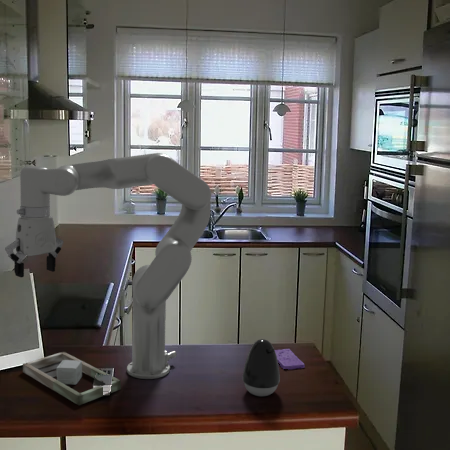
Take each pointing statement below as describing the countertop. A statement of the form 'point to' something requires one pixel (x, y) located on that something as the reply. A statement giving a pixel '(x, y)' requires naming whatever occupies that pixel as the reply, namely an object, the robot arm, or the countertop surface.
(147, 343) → the robot arm
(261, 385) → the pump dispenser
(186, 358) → the countertop surface
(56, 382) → the rectangular open frame tray
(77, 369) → the small box
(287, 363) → the sponges
